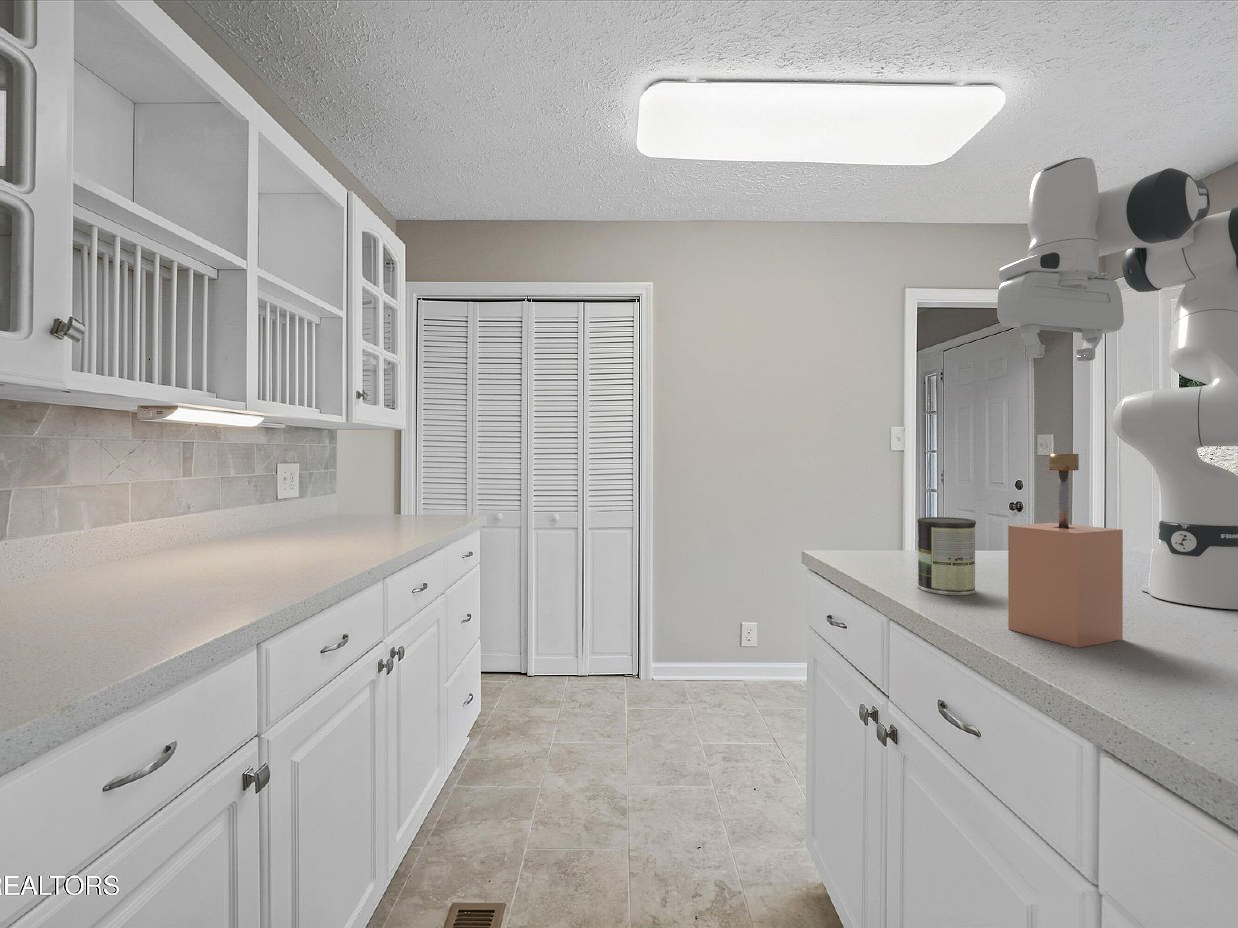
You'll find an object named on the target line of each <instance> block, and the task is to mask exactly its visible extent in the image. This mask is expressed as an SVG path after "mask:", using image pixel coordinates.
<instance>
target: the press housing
mask: <svg viewBox="0 0 1238 928" xmlns="http://www.w3.org/2000/svg"><path fill="white" fill-rule="evenodd" d="M1007 530H1008V531H1007V532H1008V533H1007V537H1008V539H1007V541H1008V543H1007V547H1008V549H1007V550H1008V551H1007V554H1008V555H1007V560H1008V561H1007V562H1008V563H1007V566H1008V569H1007V571H1008V574H1007V575H1008V576H1007V581H1008V583H1007V585H1008V587H1007V591H1008V593H1007V595H1008V596H1007V597H1008V599H1007V600H1008V601H1007V603H1008V605H1007V607H1008V608H1007V609H1008V620H1007V621H1008V622H1007V625H1008V630H1010V631H1014V632H1017V633H1021V634H1024V635H1028V636H1032V637H1036V638H1040V639H1042V640H1045V641H1046V640H1047V641H1050V642H1053V643H1058V644H1062V645H1065V646H1069V647H1072V648H1076V649H1079V648H1083V647H1089V646H1093V645H1095V646H1096V645H1099V644H1107V643H1110V642H1116V641H1121V640H1122V641H1123V630H1124V629H1123V628H1124V627H1123V624H1124V622H1123V620H1124V619H1123V618H1124V617H1123V616H1124V615H1123V614H1124V613H1123V611H1124V609H1123V603H1124V602H1123V599H1124V597H1123V594H1124V593H1123V591H1124V590H1123V585H1124V583H1123V581H1124V580H1123V574H1124V573H1123V571H1124V569H1123V568H1124V567H1123V565H1124V564H1123V563H1124V562H1123V561H1124V560H1123V558H1124V557H1123V554H1124V553H1123V552H1124V551H1123V549H1124V548H1123V547H1124V545H1123V543H1124V542H1123V541H1124V536H1123V534H1124V532H1123V531H1124V530H1123V528H1122V529H1121V528H1120V529H1119V528H1112V527H1110V528H1109V527H1098V526H1089V525H1079V524H1070V523H1069V529H1063V528H1059V522H1045V523H1044V522H1043V523H1029V524H1028V523H1027V524H1017V525H1015V524H1014V525H1008V526H1007Z"/></svg>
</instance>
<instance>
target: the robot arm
mask: <svg viewBox="0 0 1238 928" xmlns="http://www.w3.org/2000/svg"><path fill="white" fill-rule="evenodd" d="M1029 191H1030V192H1029V197H1028V207H1027V208H1028V209H1027V229H1028V232H1029V233H1028V234H1029V235H1030V236H1029V237H1030V241H1029V242H1030V243H1029V246H1028V249H1027V253H1026V254H1027V257H1025V258H1022V259H1020V260H1017V261H1014V262H1012V263H1010V264H1008V265H1005V266H1003V267H1001V268H1000V269H999V272H998V277H999V280H1000V281H1001V282H1002V283H1001V284H1000V285H999V288H998V292H997V305H996V306H997V307H996V311H997V314H996V315H997V319H998V322H999V323H1000V325H1001V326H1002V327H1005V328H1014V329H1018V328H1019V335H1020V338H1021V339H1022V341H1023V343H1024V345H1025V347H1026V357H1027V358H1029V359H1039V358H1043V357H1045V354H1046V352H1045V350H1046V344H1041V341H1040V339H1039V335H1038V333H1040V331H1043V330H1045V331H1054V332H1067V333H1079V334H1081V340H1084V342H1083V344H1082V346H1081V349H1077V350H1076V360H1077V361H1078V362H1090V361H1094V360H1095V358H1096V349H1097V348H1098V346H1099V344H1100V342H1101V340H1102V339H1103V335H1104V334H1105V335H1106V334H1109V333H1113V332H1118V331H1120V330H1121V328H1122V327H1123V325H1124V323H1125V317H1124V315H1125V314H1124V305H1123V304H1124V303H1123V297H1122V292H1121V289H1120V286H1119V285H1118V282H1117V281H1116V280H1115V279H1114V278H1113V277H1112V275H1111V274H1110V273H1107V272H1101V273H1100V271H1099V267H1100V266H1099V265H1100V264H1099V263H1100V262H1099V261H1100V259H1099V257H1103V256H1107V255H1111V254H1112V255H1113V254H1115V253H1120V252H1123V251H1125V252H1124V254H1123V257H1122V259H1121V267H1122V268H1121V270H1122V276H1123V278H1124V280H1125V281H1126V285H1127V286H1129V287H1130V288H1131V289H1133V290H1134V291H1136V292H1138V293H1148V292H1156V291H1157V292H1158V291H1161V290H1162V289H1164V288H1170V287H1176V286H1181V285H1184V287H1183V288H1182V290H1181V291H1180V294H1179V296H1178V299H1177V301H1176V304H1175V307H1174V311H1173V315H1172V320H1171V327H1170V336H1169V346H1168V347H1169V348H1168V358H1167V359H1168V364H1169V366H1170V367H1171V368H1172V369H1173V370H1174V371H1175V373H1177V374H1179V375H1181V376H1182V377H1184V378H1186V379H1189V380H1192V381H1196V382H1199V383H1203V384H1206V385H1201V386H1189V387H1175V388H1171V387H1170V388H1162V389H1161V388H1159V389H1151V390H1147V391H1143V392H1142V391H1141V392H1138V393H1134V394H1129V395H1125V396H1124V397H1123V398H1122V399H1121V400H1120V401H1119V402H1117V405H1116V406H1115V408H1114V410H1113V412H1112V417H1111V422H1112V423H1111V424H1112V427H1113V430H1114V432H1115V434H1116V435H1117V437H1118V438H1119V439H1120V440H1121V441H1123V443H1125V444H1127V445H1129V446H1130V447H1132V448H1134V450H1137V451H1138V452H1139V453H1140V454H1142V455H1143V456H1144V457H1145V458H1146V459H1147V461H1148V462H1149V463H1150V464H1151V466H1152V467H1153V470H1154V471H1155V473H1156V476H1157V478H1158V481H1159V488H1160V494H1161V495H1160V496H1161V518H1162V519H1161V520H1160V521H1159V525H1158V527H1157V532H1158V539H1159V540H1160V543H1159V544H1158V546H1156V547H1154V548H1153V549H1152V550H1151V554H1150V564H1149V575H1148V584H1141V588H1140V590H1141V591H1143V592H1145V593H1147V594H1149V595H1150V596H1152V597H1154V598H1157V599H1160V600H1164V601H1167V602H1173V603H1177V604H1184V605H1191V606H1198V607H1205V608H1212V609H1213V608H1215V609H1227V610H1238V474H1236V473H1234V472H1233V471H1230V470H1228V469H1225V468H1223V467H1220V466H1217V465H1215V464H1212V463H1209V462H1206V461H1205V460H1203V459H1202V458H1201V457H1200V456H1199V453H1198V449H1199V448H1205V447H1238V206H1235V207H1233V208H1232V209H1230V210H1227V211H1223V212H1218V213H1215V214H1214V213H1213V214H1211V215H1208V214H1209V212H1210V209H1211V208H1210V206H1211V201H1210V199H1211V198H1210V192H1209V189H1208V187H1207V185H1206V184H1205V183H1204V182H1203V181H1201V180H1196V179H1194V178H1193V177H1192V176H1191V175H1190V174H1189V173H1187V172H1185V171H1183V170H1179V169H1176V168H1172V167H1168V168H1165V169H1163V170H1160V171H1157V172H1155V173H1152V174H1149V175H1146V176H1145V177H1143V178H1140V179H1137V180H1134V181H1132V182H1128V183H1125V184H1122V185H1119V186H1116V187H1111V188H1110V189H1106V190H1104V191H1101V192H1099V184H1098V176H1097V170H1096V166H1095V161H1094V160H1093V159H1092V158H1090V157H1075V158H1070V159H1067V160H1064V161H1060V162H1057V163H1055V164H1052V165H1049V166H1047V167H1044V168H1043V169H1041V170H1040V171H1039V172H1038V173H1037V174H1035V175H1034V177H1033V180H1032V183H1031V186H1030V190H1029ZM1207 215H1208V216H1207Z"/></svg>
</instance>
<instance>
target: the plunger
mask: <svg viewBox="0 0 1238 928" xmlns="http://www.w3.org/2000/svg"><path fill="white" fill-rule="evenodd" d="M1079 457H1080V454H1079V453H1049V454H1048V470H1049V471H1058V523H1059V528H1063V529H1069V524H1070V523H1069V519H1070V517H1069V514H1070V513H1069V509H1070V507H1069V506H1070V502H1069V495H1070V493H1069V492H1070V489H1069V486H1070V485H1069V483H1070V482H1069V481H1070V480H1069V479H1070V478H1069V477H1070V476H1069V475H1070V474H1069V471H1080V468H1079V467H1080V461H1079V460H1080V458H1079Z"/></svg>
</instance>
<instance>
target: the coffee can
mask: <svg viewBox="0 0 1238 928" xmlns="http://www.w3.org/2000/svg"><path fill="white" fill-rule="evenodd" d="M916 521H917V529H918V530H917V534H918V535H917V539H918V540H917V541H918V542H917V549H918V551H917V553H918V555H917V556H918V557H917V561H918V564H917V567H918V570H917V571H918V575H917V576H918V577H917V579H918V581H917V582H918V584H917V588H918V589H919V590H921V591H923V592H926V593H930V594H935V595H936V594H937V595H945V596H946V595H947V596H969V595H973V594H975V593H976V524H977V522H976V520H974V519H972V518H964V517H962V518H961V517H949V516H948V517H947V516H946V517H944V516H940V517H939V516H928V517H927V516H925V517H919V518H917V520H916Z"/></svg>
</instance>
